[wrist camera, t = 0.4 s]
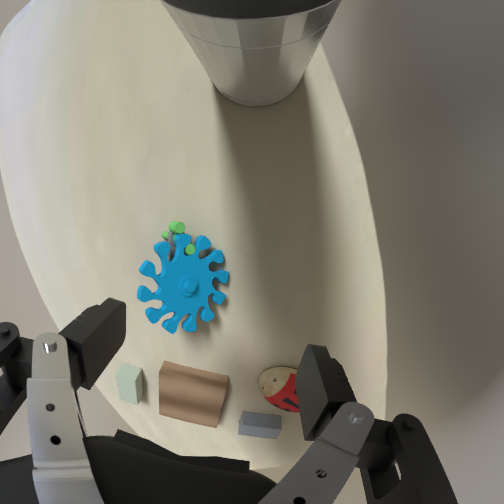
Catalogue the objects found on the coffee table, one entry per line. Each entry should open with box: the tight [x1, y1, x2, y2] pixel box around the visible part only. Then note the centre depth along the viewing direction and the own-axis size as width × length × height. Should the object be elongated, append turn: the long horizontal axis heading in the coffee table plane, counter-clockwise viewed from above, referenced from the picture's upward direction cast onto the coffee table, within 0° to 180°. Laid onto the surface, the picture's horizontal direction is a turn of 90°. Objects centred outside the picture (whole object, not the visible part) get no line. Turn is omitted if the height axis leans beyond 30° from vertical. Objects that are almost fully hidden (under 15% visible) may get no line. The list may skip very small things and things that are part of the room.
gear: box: [137, 222, 229, 334], centre depth 27 cm, size 11×6×10 cm
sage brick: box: [116, 362, 143, 405], centre depth 34 cm, size 6×3×3 cm, turn 167°
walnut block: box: [159, 361, 228, 428], centre depth 34 cm, size 10×9×3 cm
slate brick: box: [238, 411, 281, 439], centre depth 36 cm, size 6×3×3 cm, turn 77°
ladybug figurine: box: [258, 367, 300, 412], centre depth 33 cm, size 7×10×4 cm
